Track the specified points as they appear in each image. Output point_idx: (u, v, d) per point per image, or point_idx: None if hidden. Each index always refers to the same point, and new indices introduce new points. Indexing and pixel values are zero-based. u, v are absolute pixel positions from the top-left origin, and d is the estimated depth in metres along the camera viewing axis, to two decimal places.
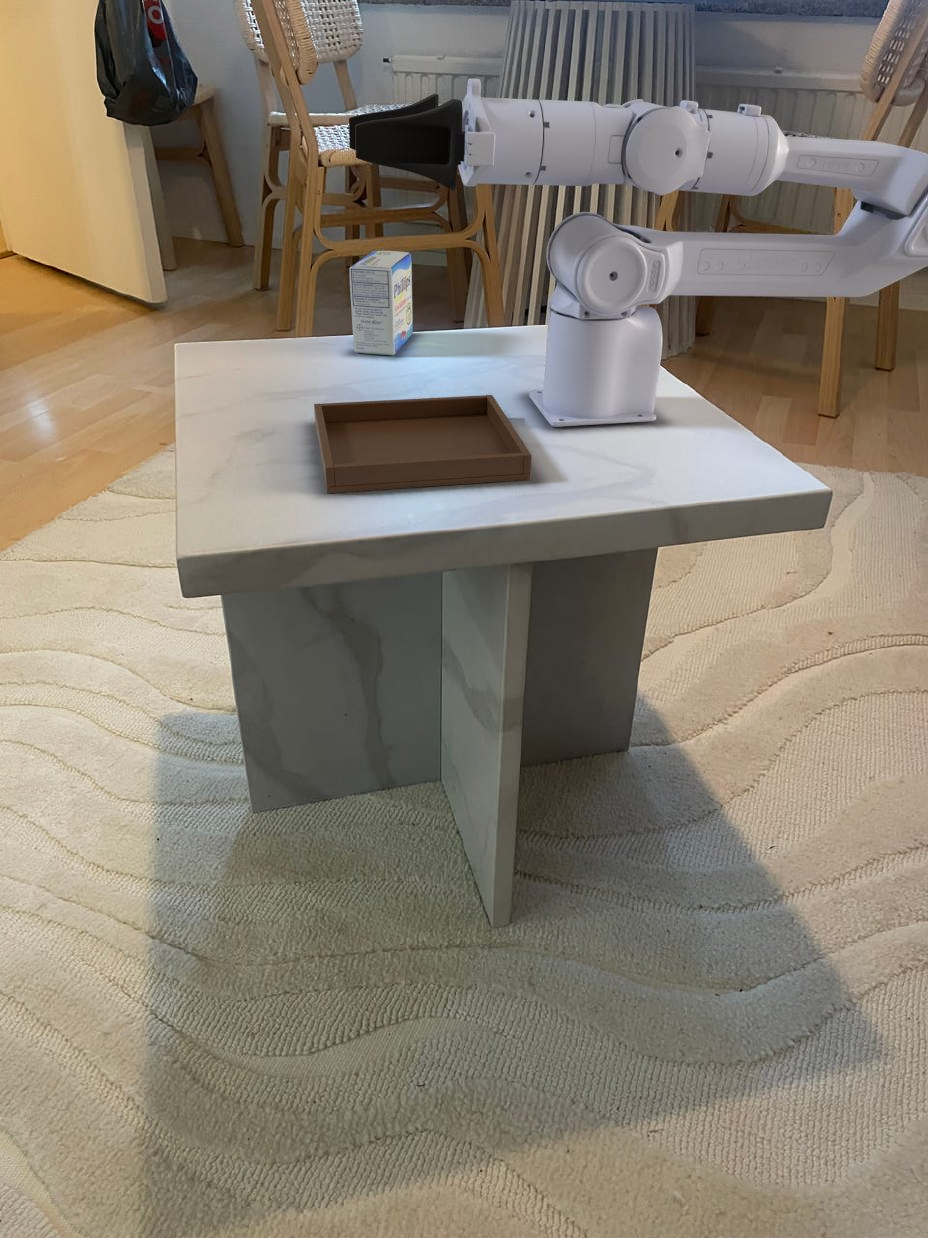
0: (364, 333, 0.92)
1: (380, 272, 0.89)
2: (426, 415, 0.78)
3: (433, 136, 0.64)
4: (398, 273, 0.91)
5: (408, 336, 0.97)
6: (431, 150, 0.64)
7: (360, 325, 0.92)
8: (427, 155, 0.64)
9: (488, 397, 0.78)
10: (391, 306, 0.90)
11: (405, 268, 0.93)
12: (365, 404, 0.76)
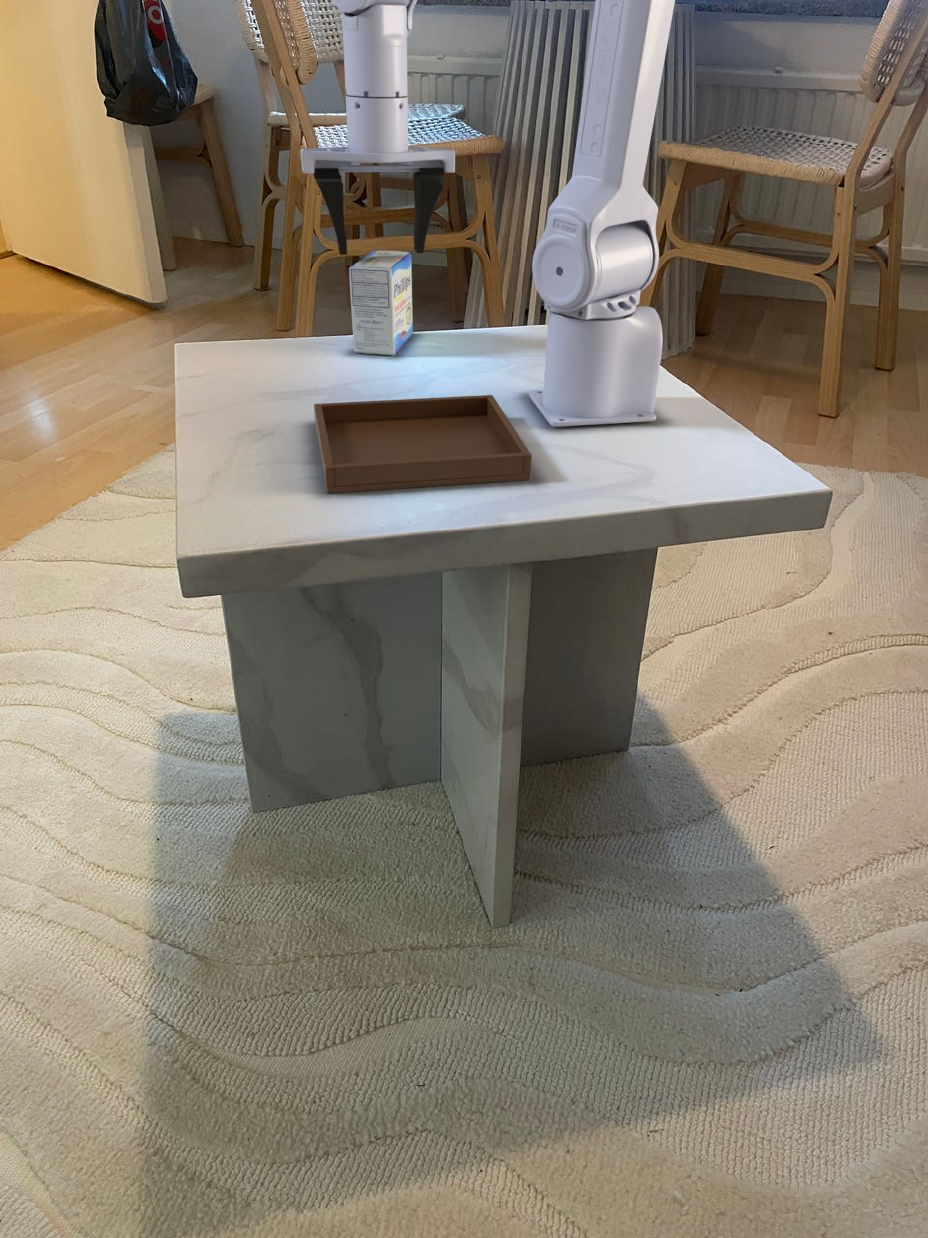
0: (364, 333, 0.92)
1: (380, 272, 0.89)
2: (426, 415, 0.78)
3: None
4: (398, 273, 0.91)
5: (408, 336, 0.97)
6: None
7: (360, 325, 0.92)
8: None
9: (488, 397, 0.78)
10: (391, 306, 0.90)
11: (405, 268, 0.93)
12: (365, 404, 0.76)
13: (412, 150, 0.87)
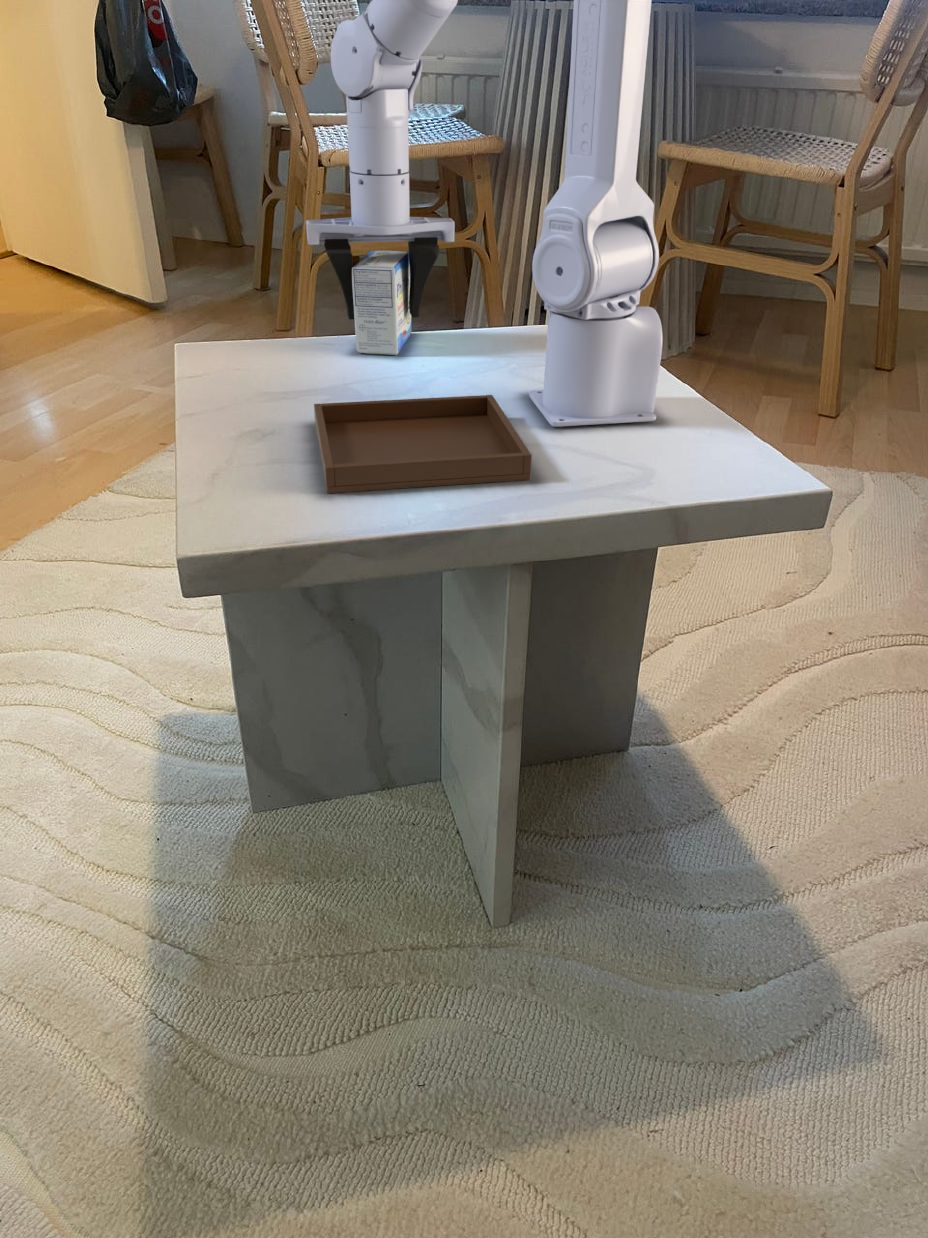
0: (366, 333, 0.92)
1: (383, 272, 0.89)
2: (426, 415, 0.78)
3: None
4: (400, 272, 0.91)
5: (408, 335, 0.98)
6: None
7: (363, 325, 0.92)
8: None
9: (488, 397, 0.78)
10: (394, 306, 0.91)
11: (405, 267, 0.93)
12: (365, 404, 0.76)
13: (413, 221, 0.90)
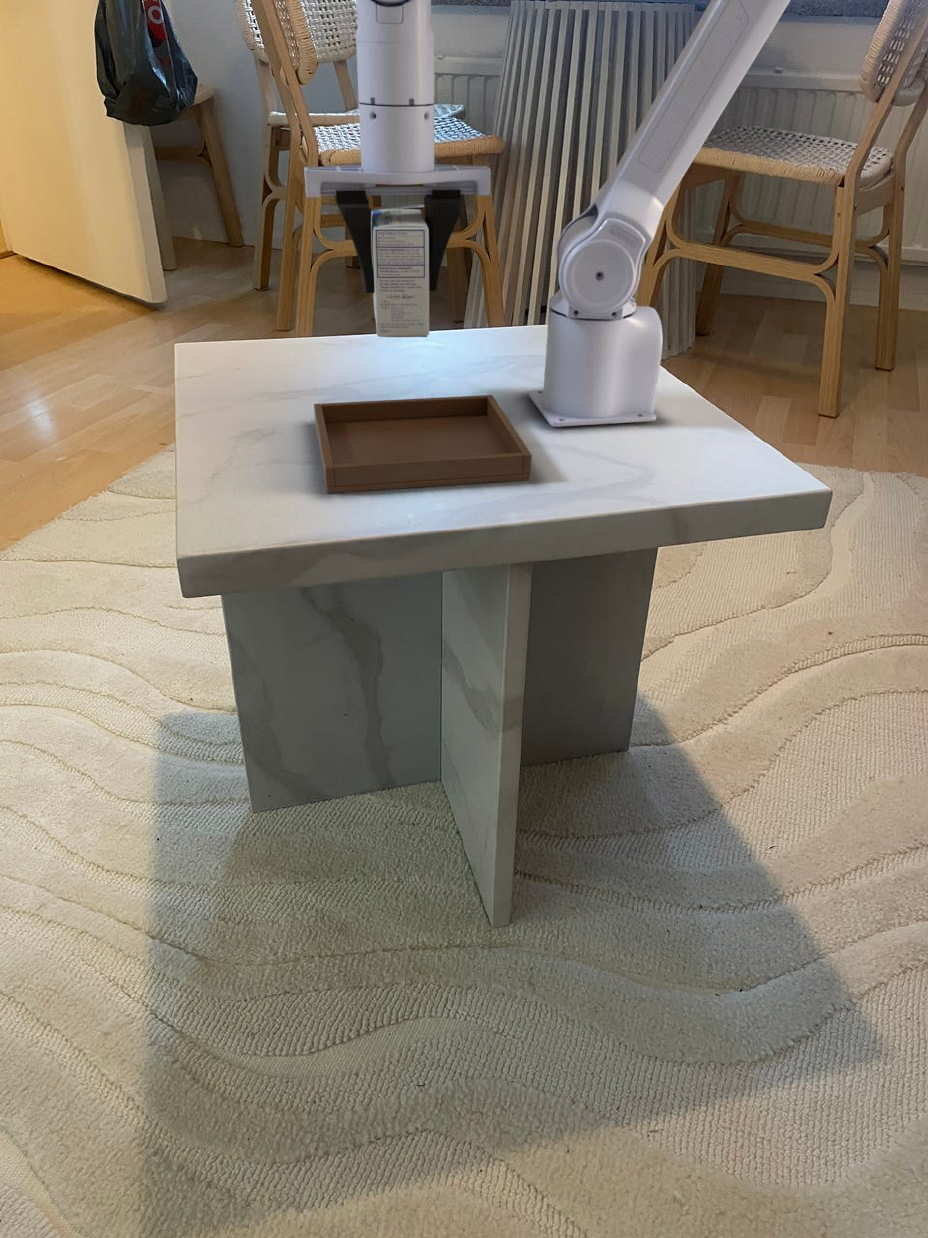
0: (391, 312, 0.74)
1: (414, 233, 0.71)
2: (426, 415, 0.78)
3: None
4: None
5: None
6: None
7: (387, 302, 0.73)
8: None
9: (488, 397, 0.78)
10: (427, 275, 0.73)
11: None
12: (365, 404, 0.76)
13: (439, 169, 0.72)
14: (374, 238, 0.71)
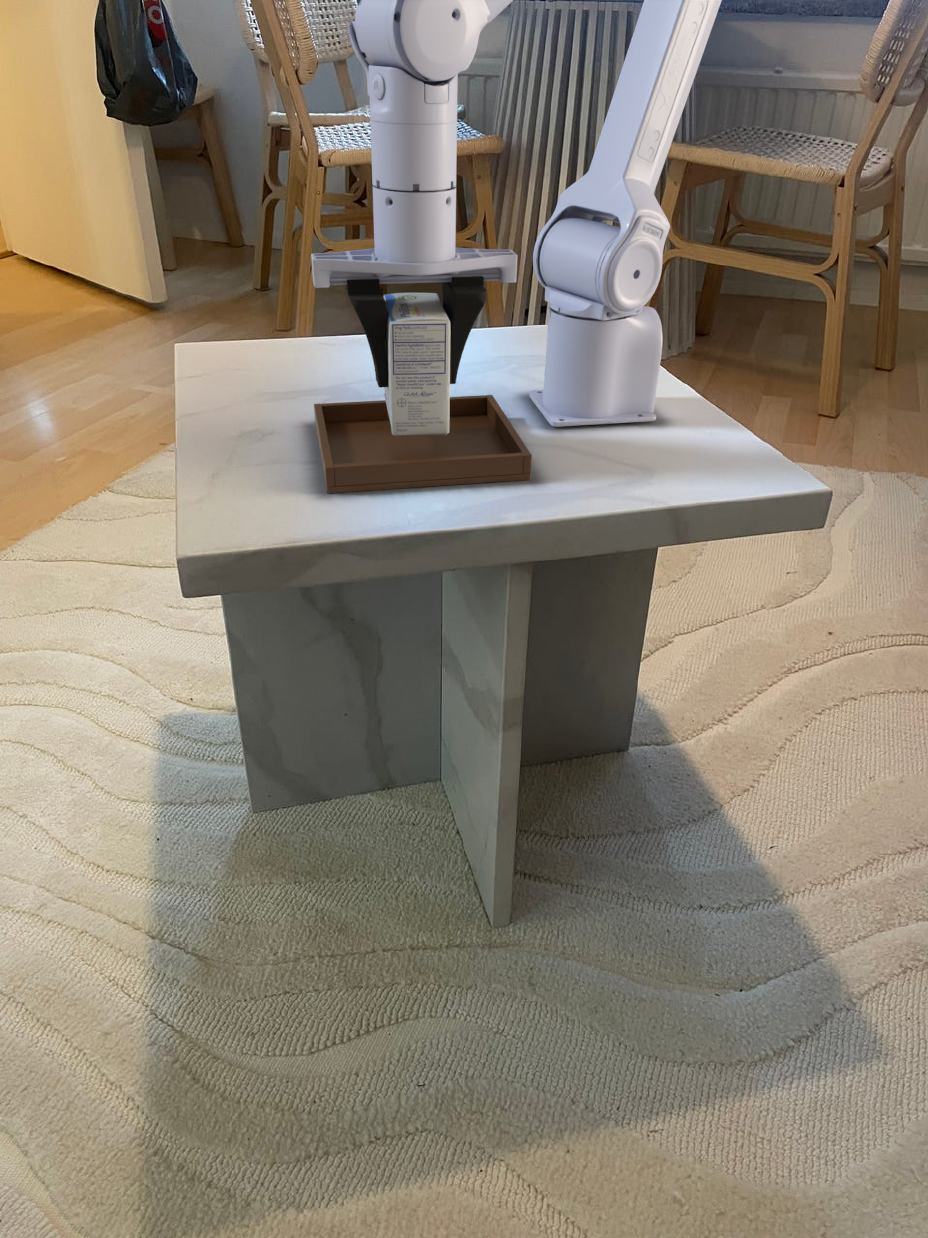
0: (408, 410, 0.67)
1: (435, 327, 0.64)
2: None
3: None
4: None
5: None
6: None
7: (403, 400, 0.66)
8: None
9: (488, 397, 0.78)
10: (448, 371, 0.66)
11: None
12: (365, 404, 0.76)
13: (460, 254, 0.65)
14: (390, 333, 0.64)
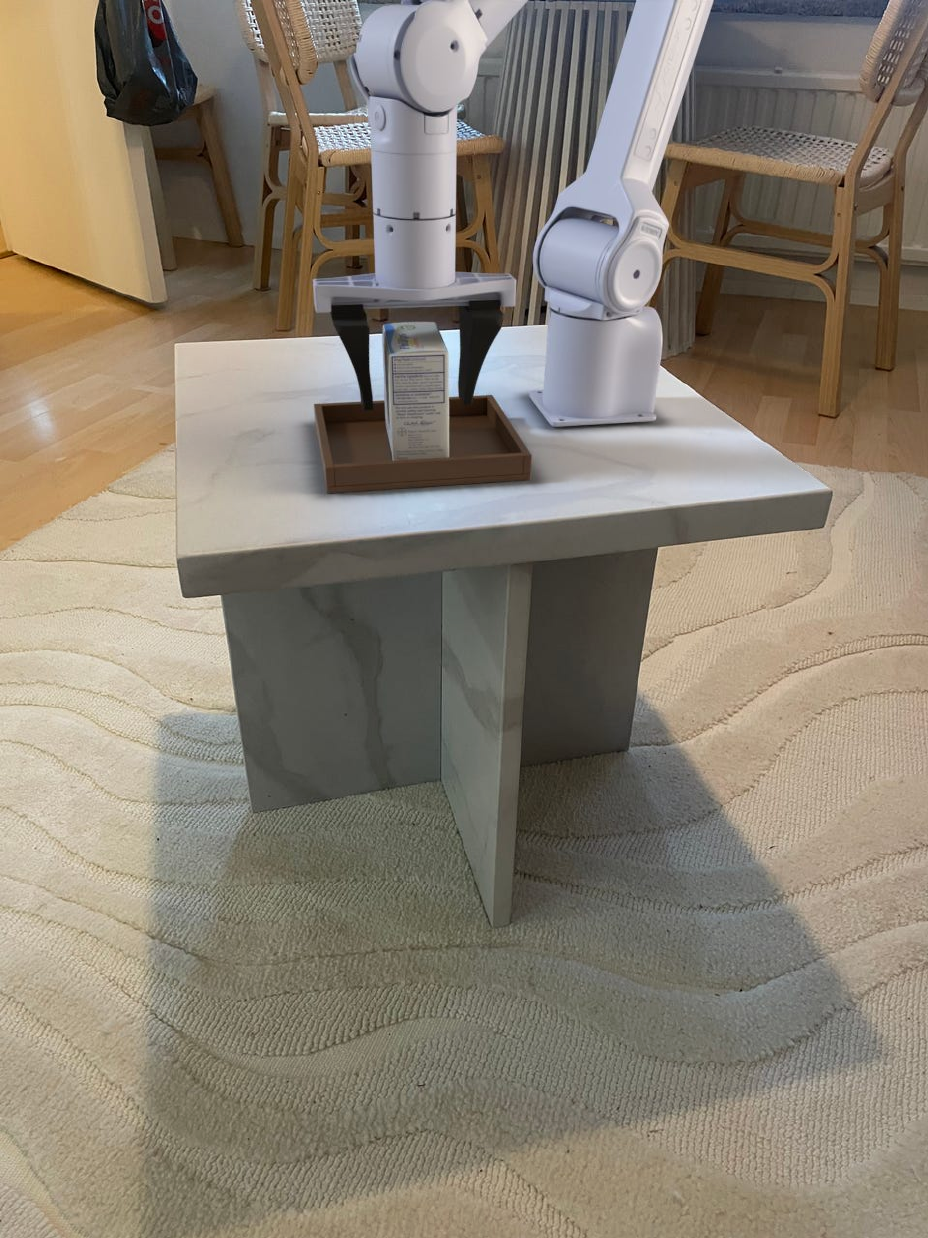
0: (408, 439, 0.68)
1: (434, 358, 0.65)
2: None
3: None
4: None
5: None
6: None
7: (403, 429, 0.68)
8: None
9: (488, 397, 0.78)
10: (447, 401, 0.67)
11: None
12: None
13: (460, 279, 0.66)
14: (390, 365, 0.65)
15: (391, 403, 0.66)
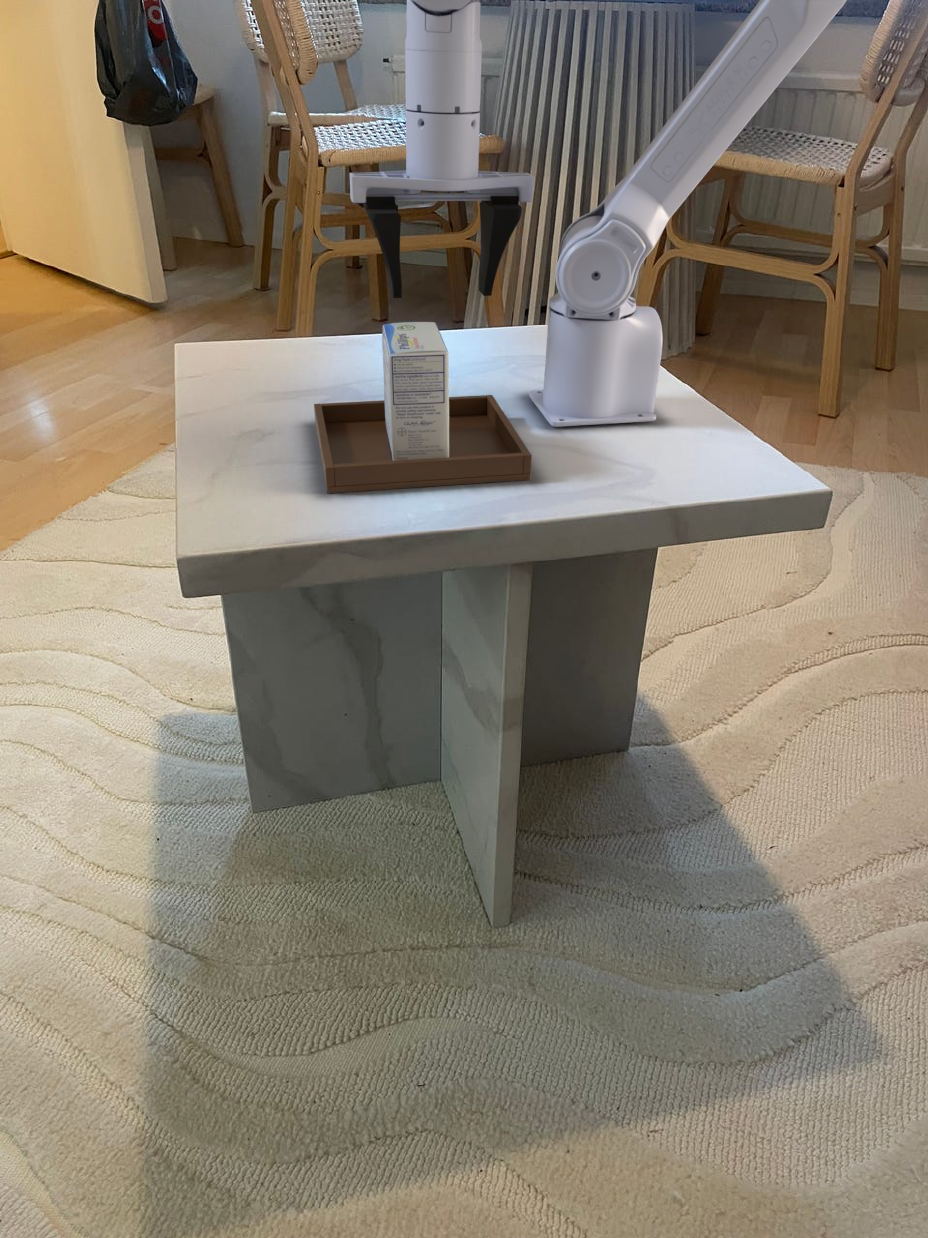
0: (408, 439, 0.68)
1: (433, 358, 0.65)
2: None
3: None
4: None
5: None
6: None
7: (403, 429, 0.68)
8: None
9: (488, 397, 0.78)
10: (447, 401, 0.67)
11: None
12: (365, 404, 0.76)
13: (482, 175, 0.73)
14: (390, 365, 0.65)
15: (391, 403, 0.66)
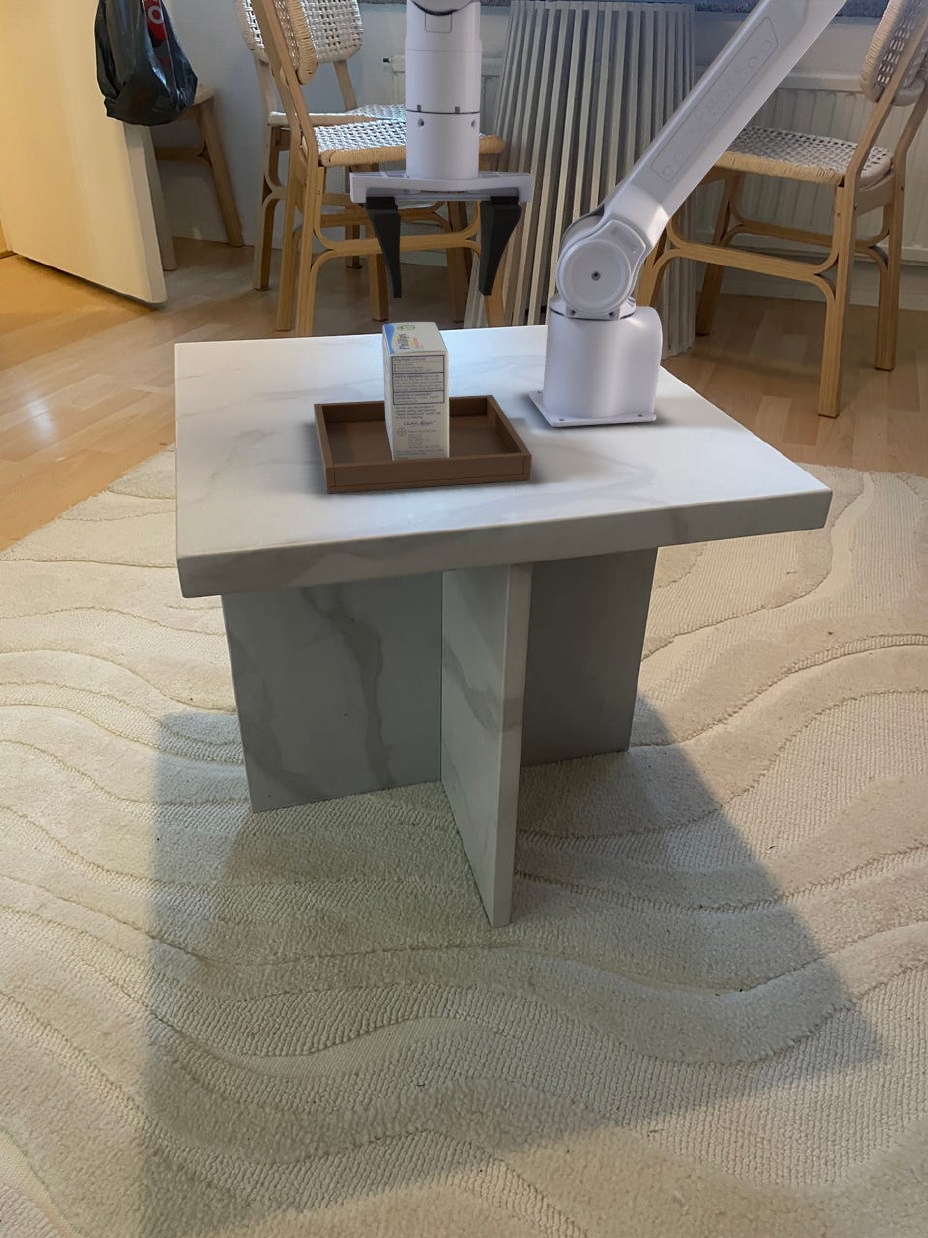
0: (408, 439, 0.68)
1: (433, 358, 0.65)
2: None
3: None
4: None
5: None
6: None
7: (403, 429, 0.68)
8: None
9: (488, 397, 0.78)
10: (447, 401, 0.67)
11: None
12: (365, 404, 0.76)
13: (482, 175, 0.73)
14: (390, 365, 0.65)
15: (391, 403, 0.66)
